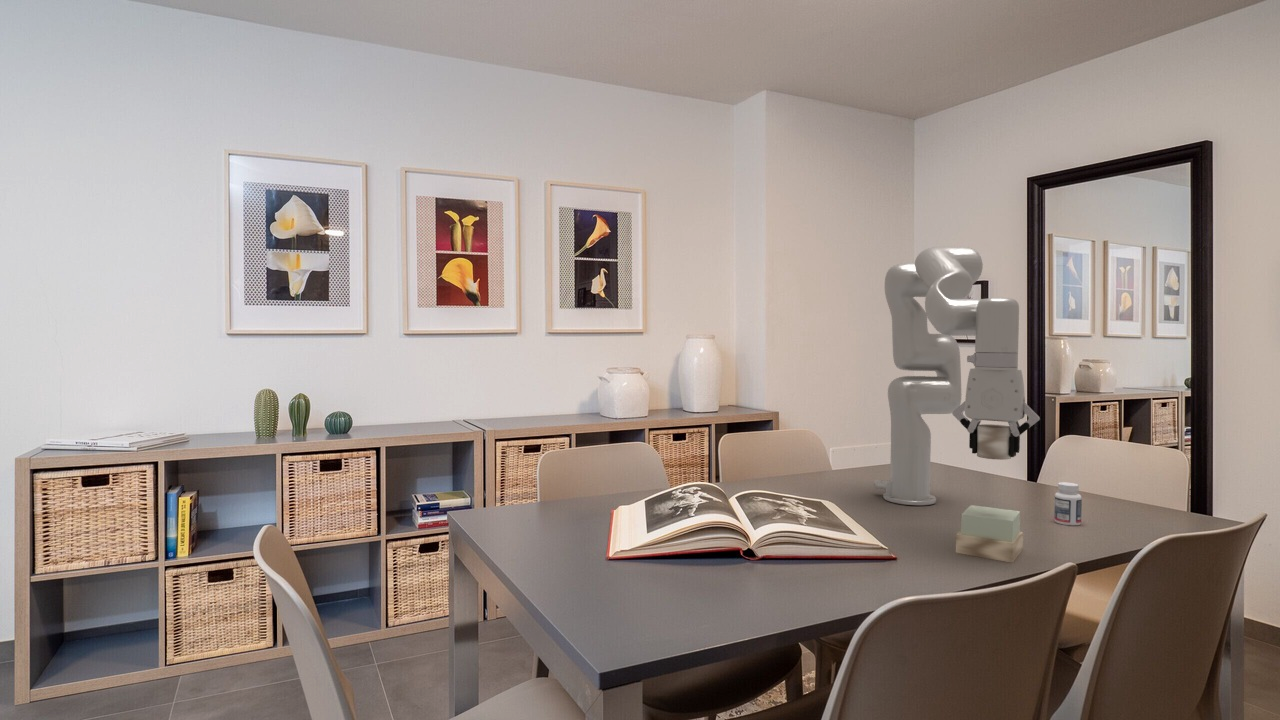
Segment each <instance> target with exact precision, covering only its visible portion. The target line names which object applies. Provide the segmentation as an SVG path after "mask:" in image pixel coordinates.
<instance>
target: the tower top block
mask: <svg viewBox="0 0 1280 720" xmlns="http://www.w3.org/2000/svg"><path fill="white" fill-rule="evenodd" d="M960 515H961V517H960V518H961V520H960V524H961V525H960V531H961V535H968V536H975V537H981V538H988V539H994V540H1001V541H1007V542H1013V541H1014V539H1015V538H1016V536H1017V535H1018V533H1019V532H1021V511H1020V510H1013V509H1005V508H997V507H989V506H980V505H974V504H971V505H969V506H968V507H967V508H966V509H965V510H964V511H963V512H962V513H961V514H960Z"/></svg>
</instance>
